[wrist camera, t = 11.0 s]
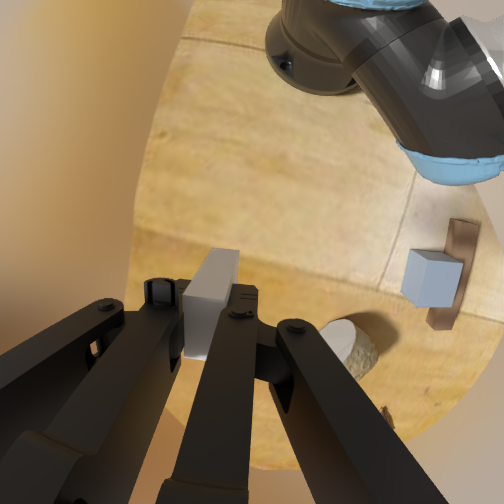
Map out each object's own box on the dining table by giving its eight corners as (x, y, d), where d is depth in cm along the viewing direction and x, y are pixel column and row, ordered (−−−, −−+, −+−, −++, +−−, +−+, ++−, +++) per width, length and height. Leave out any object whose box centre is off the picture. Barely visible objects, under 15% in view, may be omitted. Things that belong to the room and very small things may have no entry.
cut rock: (351, 312, 36) (393, 367, 34) (345, 306, 46) (380, 351, 44) (293, 356, 37) (336, 409, 35) (300, 341, 47) (334, 385, 45)
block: (409, 248, 41) (427, 260, 35) (443, 252, 41) (463, 263, 35) (400, 291, 42) (416, 307, 37) (433, 292, 42) (451, 307, 37)
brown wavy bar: (450, 218, 39) (462, 222, 35) (466, 221, 39) (479, 225, 35) (425, 320, 44) (434, 330, 40) (442, 320, 44) (451, 329, 40)
